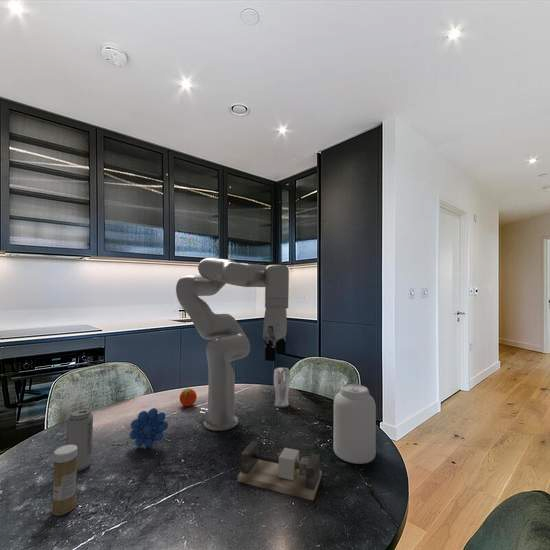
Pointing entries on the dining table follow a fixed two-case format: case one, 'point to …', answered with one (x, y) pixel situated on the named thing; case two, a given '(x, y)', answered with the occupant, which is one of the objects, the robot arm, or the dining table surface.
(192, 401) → the clementine
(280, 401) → the beer glass
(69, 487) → the pill bottle
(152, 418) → the grapes
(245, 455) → the small bench vise
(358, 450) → the can
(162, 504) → the dining table surface
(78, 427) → the energy drink can
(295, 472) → the sleeve
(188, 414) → the dining table surface
